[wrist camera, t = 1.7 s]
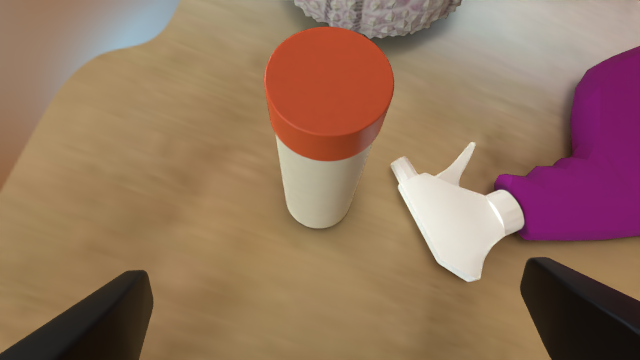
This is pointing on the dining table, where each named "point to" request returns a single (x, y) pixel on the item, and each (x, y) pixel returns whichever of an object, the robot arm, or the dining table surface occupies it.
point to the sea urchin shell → (378, 14)
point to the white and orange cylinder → (325, 117)
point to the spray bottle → (543, 181)
